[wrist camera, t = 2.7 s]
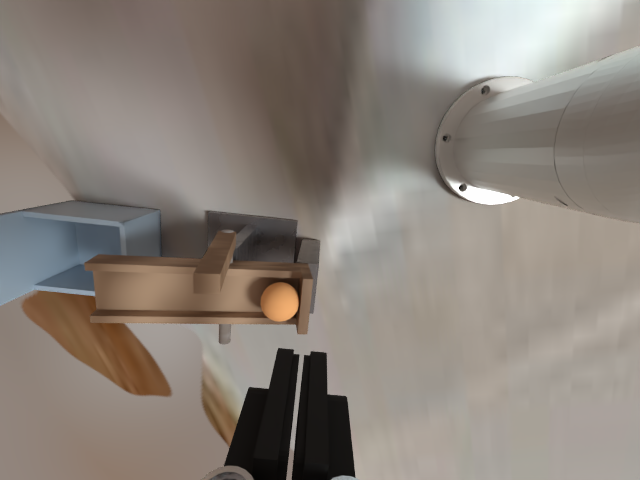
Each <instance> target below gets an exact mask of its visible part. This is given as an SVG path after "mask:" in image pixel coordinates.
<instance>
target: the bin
mask: <svg viewBox="0 0 640 480" xmlns="http://www.w3.org/2000/svg"><path fill="white" fill-rule="evenodd" d="M98 254H105V255H128V256H150V257H162V252H161V222H160V210H156V209H147V208H137V207H128V206H119V205H110V204H100V203H91V202H82V201H66V202H61V203H56V204H50V205H45V206H40V207H34V208H29V209H23V210H18V211H12V212H7V213H2V214H0V306H1V305H3V304H5V303H7V302H9V301H11V300H14V299H16V298H18V297H20V296H22V295H24V294H26V293H28V292H31V291H33V290H43V291H52V292H62V293H71V294H81V295H91V296H95V289H94V279H93V271H85V266H84V263H85V262H87V261H88V260H90V259H91V258H93V257H95V256H96V255H98Z"/></svg>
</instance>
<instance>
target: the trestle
mask: <svg viewBox="0 0 640 480" xmlns="http://www.w3.org/2000/svg"><path fill="white" fill-rule="evenodd" d="M297 222H298V221H297V220H288V219H279V218H270V217H260V216H251V215H242V214H233V213H223V212H214V211H209V212H208V248H209V246H210V244H211V243H212V241H213V239H214V238H215V236H216V234H217V233H218V231H222V230H233V231H234V232H236V247H235V250H234V253H233V260H239V261H261V262H284V263H294V256H295V244H296V233H297ZM319 252H320V241H319V240H310V239H303V240H302V244H301V248H300V252H299V256H298V259H297V263H306V264H308V266H309V268H310V271H311V274H312V277H313V285H312V295H311V304H310V313H312V314H313V311H314V303H315V294H316V285H317V276H318V267H319Z"/></svg>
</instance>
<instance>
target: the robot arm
mask: <svg viewBox="0 0 640 480" xmlns="http://www.w3.org/2000/svg"><path fill="white" fill-rule="evenodd" d="M481 89H482V90H483V94H482V93H481ZM443 136H445V137H446V140H445V141H443ZM435 156H436V164H437V167H438V170H439V173H440V175H441V177H442V179H443V180H444V182H445V184H446V185H447V186H448V187H449V188H450V189H451V190H452V191H453V192H454V193H456V194H457V195H458V196H460V197H461V198H464V199H466V200H468V201H471V202H474V203H478V204H485V205H497V204H504V203H508V202H511V201H514V200H516V199H519V198H524V199H528V200H532V201H537V202H541V203H546V204H550V205H554V206H559V207H563V208H568V209H572V210H576V211H581V212H585V213H589V214H594V215H598V216H602V217H607V218H611V219H616V220H620V221H626V222H632V223H640V46H637V47H634V48H632V49H629V50H626V51H623V52H620V53H617V54H614V55H611V56H608V57H605V58H602V59H599V60H596V61H594V62H591V63H588V64H585V65H582V66H579V67H576V68H573V69H570V70H567V71H564V72H561V73H558V74H555V75H552V76H550V77H547V78H544V79H541V80H538V81H535V82H534V81H532V80H529V79H526V78H522V77H517V76H504V77H499V78H494V79H490V80H488V81H485V82H482V83H480V84H478V85H476V86H474V87H473V88H471V89H469V90H468V91H467V92H465V93H464V94H463V95H461V96H460V97H459V98H458V99H457V100H456V101H455V102H454V103H453V105H452V106H451V107H450V108H449V110H448V111H447V113H446V114H445V116H444V118H443V120H442V122H441V125H440V127H439V130H438V134H437V138H436V145H435ZM460 185H461V189H459V186H460ZM293 353H294V350H293V349H282V348H278V351H277V355H276V360H275V364H274V369H273V373H272V377H271V382H270V386H269V389H263V388H253V387H249V389H248V392H247V394H246V398H245V401H244V404H243V407H242V410H241V414H240V417H239V420H238V423H237V426H236V429H235V433H234V436H233V439H232V442H231V445H230V448H229V452H228V455H227V458H226V461H225V465H224V467H219V468H217V469H215V470H213V471H211V472H209V473H208V474H207V475H206V476H205V477H204V478H203V479H201V480H286V475H287V465H288V457H289V448H290V439H291V430H292V421H293V411H294V402H295V392H296V382H297V373H298V363H299V355H298V354H293ZM292 480H359V479H357V478H355V469H354V459H353V450H352V440H351V430H350V421H349V411H348V402H347V397H346V396H338V395H327V354H326V353H324V352H313V351H311V354H310V356H309V355H304V363H303V372H302V381H301V391H300V400H299V409H298V418H297V428H296V439H295V449H294V460H293V471H292Z"/></svg>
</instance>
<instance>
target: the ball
mask: <svg viewBox="0 0 640 480" xmlns="http://www.w3.org/2000/svg"><path fill="white" fill-rule="evenodd" d="M298 307H299V295H298V293H297V291H296V290H295V288H294V287H292V286H291V285H289V284H287V283H284V282H277V283H274V284H271V285H270V286H268V287H267V288H266V289H265V290H264V292H263V294H262V296H261V308H262V311H263V313H264V314H265V315H266V316H267V317H268V318H269V319H271V320H273V321H278V322H281V321H286V320H288V319H290V318H291V317H293V316H294V315H295V313H296V312H297V310H298Z"/></svg>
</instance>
